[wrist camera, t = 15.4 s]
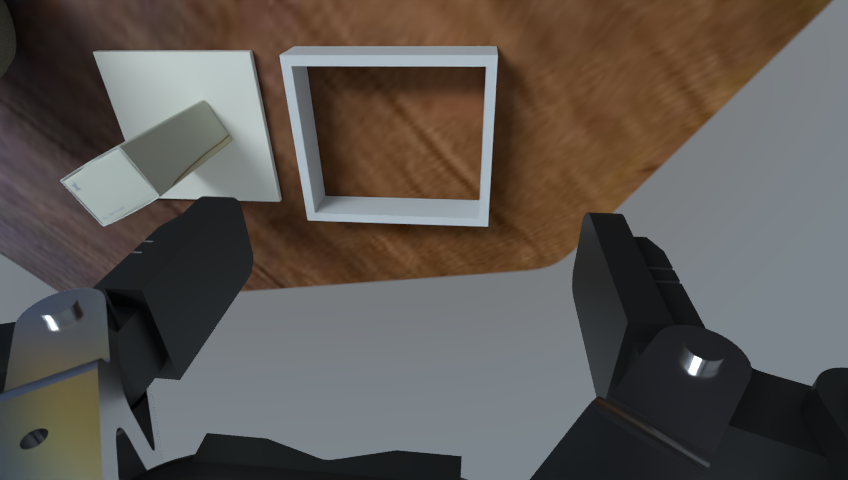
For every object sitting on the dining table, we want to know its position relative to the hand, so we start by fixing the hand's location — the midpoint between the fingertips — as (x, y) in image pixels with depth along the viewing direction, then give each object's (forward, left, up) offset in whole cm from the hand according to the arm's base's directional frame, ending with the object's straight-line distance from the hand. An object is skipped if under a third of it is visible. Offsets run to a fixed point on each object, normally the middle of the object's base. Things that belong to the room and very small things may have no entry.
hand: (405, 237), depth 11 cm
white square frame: (+9, -5, -32) cm, 33 cm away
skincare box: (+9, -24, -31) cm, 40 cm away
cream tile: (+9, -24, -32) cm, 41 cm away
